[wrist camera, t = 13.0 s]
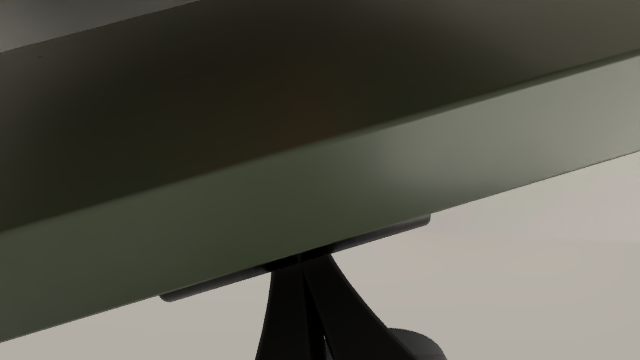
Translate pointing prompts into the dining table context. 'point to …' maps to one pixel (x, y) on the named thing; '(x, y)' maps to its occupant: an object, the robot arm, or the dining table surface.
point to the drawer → (286, 135)
